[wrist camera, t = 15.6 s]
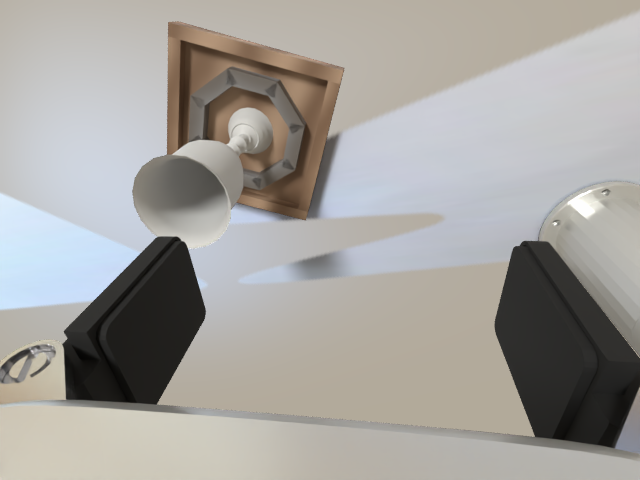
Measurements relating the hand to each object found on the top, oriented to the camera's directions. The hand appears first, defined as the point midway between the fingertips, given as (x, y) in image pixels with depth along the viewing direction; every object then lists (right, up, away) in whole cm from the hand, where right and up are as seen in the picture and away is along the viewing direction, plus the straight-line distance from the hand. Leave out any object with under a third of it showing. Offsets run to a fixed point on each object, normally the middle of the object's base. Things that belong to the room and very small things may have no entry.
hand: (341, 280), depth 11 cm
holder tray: (-8, +14, +30) cm, 34 cm away
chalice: (-8, +13, +30) cm, 34 cm away
